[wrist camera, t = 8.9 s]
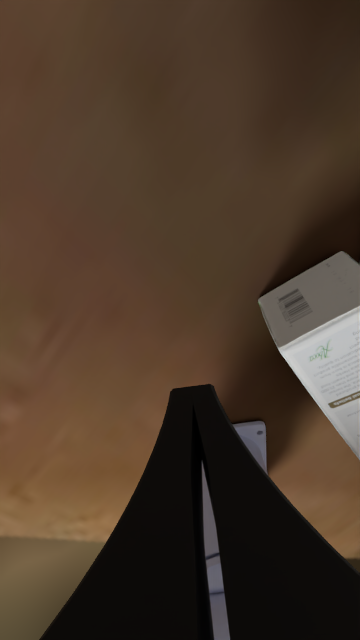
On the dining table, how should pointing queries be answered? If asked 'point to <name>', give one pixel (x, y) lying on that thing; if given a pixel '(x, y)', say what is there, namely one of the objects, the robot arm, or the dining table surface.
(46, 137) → the dining table surface
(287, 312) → the syrup box
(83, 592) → the robot arm
